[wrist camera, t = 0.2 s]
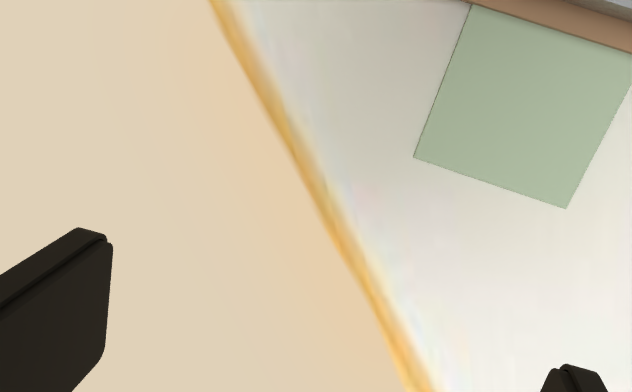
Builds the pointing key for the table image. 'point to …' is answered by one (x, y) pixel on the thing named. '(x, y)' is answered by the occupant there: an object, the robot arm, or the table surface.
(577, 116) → the mat
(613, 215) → the table surface
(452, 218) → the table surface
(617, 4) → the lever cap
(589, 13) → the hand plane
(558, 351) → the table surface
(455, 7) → the table surface
